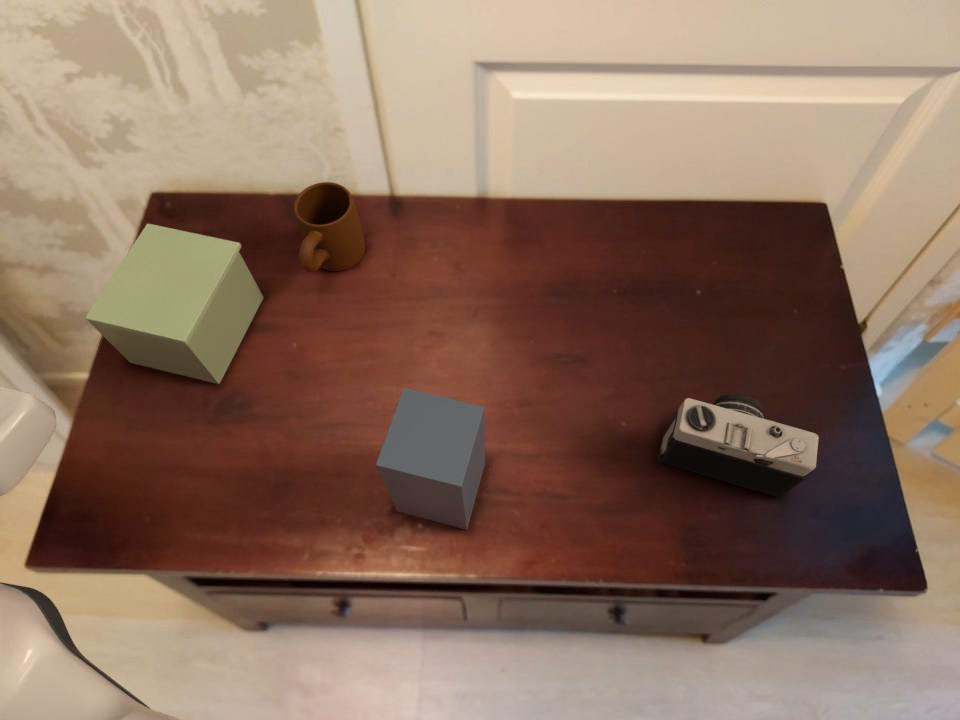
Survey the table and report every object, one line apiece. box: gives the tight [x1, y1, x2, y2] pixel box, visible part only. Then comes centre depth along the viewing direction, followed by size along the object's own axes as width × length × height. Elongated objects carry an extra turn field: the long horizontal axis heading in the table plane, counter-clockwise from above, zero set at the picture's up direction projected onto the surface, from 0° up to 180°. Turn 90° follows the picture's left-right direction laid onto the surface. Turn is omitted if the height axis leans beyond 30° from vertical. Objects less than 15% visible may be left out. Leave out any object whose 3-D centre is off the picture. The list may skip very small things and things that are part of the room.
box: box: [88, 251, 264, 385], centre depth 79 cm, size 13×12×10 cm
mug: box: [293, 181, 366, 273], centre depth 84 cm, size 12×8×9 cm, turn 167°
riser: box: [375, 387, 487, 531], centre depth 66 cm, size 8×8×15 cm
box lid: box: [85, 223, 242, 344], centre depth 75 cm, size 14×12×1 cm
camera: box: [657, 393, 820, 499], centre depth 70 cm, size 14×9×10 cm, turn 64°
